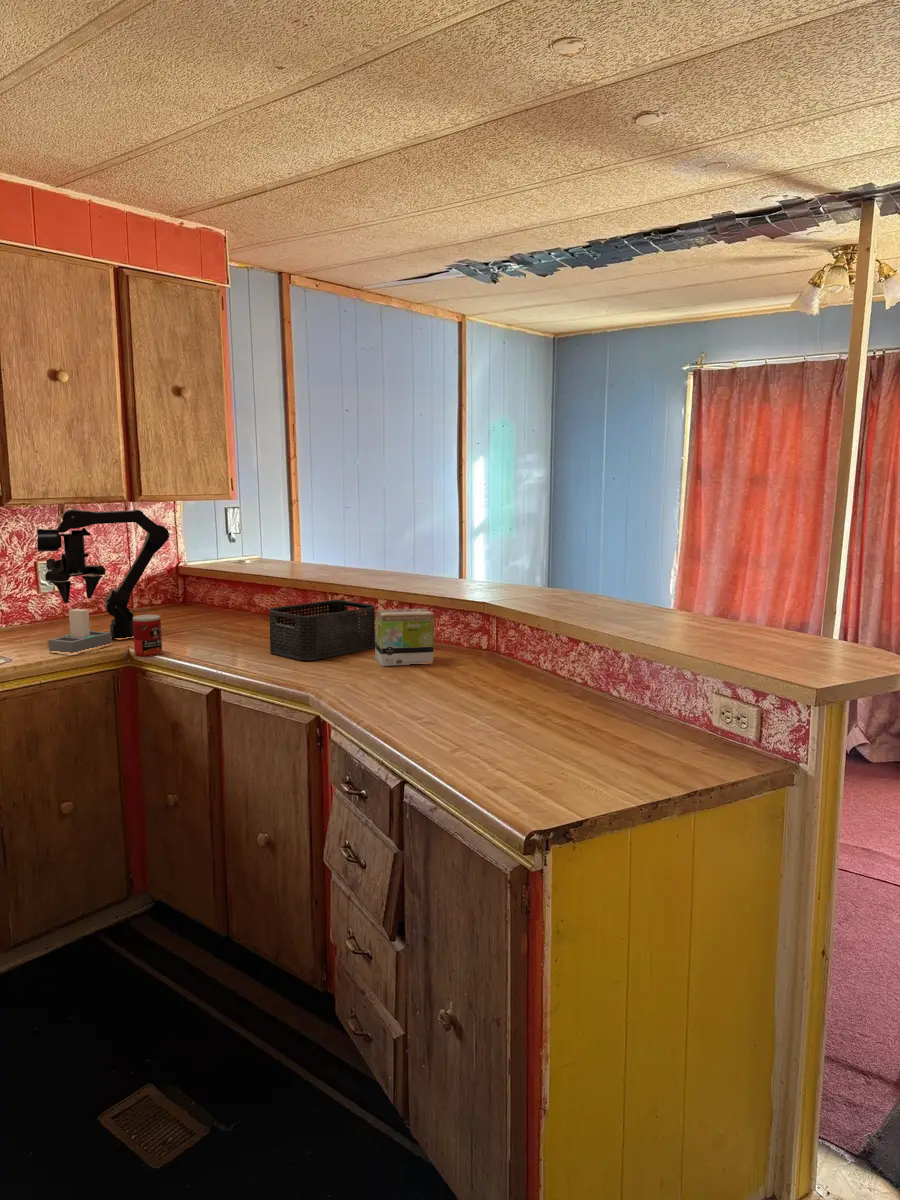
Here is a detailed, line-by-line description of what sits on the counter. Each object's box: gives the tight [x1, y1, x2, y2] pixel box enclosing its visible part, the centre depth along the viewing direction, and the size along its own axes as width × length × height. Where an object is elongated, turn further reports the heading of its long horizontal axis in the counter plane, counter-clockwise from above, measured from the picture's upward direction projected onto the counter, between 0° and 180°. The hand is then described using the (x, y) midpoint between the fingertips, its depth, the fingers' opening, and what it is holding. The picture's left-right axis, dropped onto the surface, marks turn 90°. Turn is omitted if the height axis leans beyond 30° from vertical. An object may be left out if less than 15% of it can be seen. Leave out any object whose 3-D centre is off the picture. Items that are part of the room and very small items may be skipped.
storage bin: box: [268, 599, 376, 661], centre depth 250 cm, size 29×19×13 cm
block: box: [68, 608, 91, 638], centre depth 248 cm, size 2×5×12 cm, turn 69°
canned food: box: [133, 614, 163, 657], centre depth 243 cm, size 8×8×11 cm
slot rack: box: [48, 630, 113, 653], centre depth 249 cm, size 15×9×4 cm, turn 159°
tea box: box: [374, 608, 435, 667], centre depth 235 cm, size 15×10×15 cm, turn 105°
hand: (77, 600), depth 258 cm, fingers open, 9 cm apart
